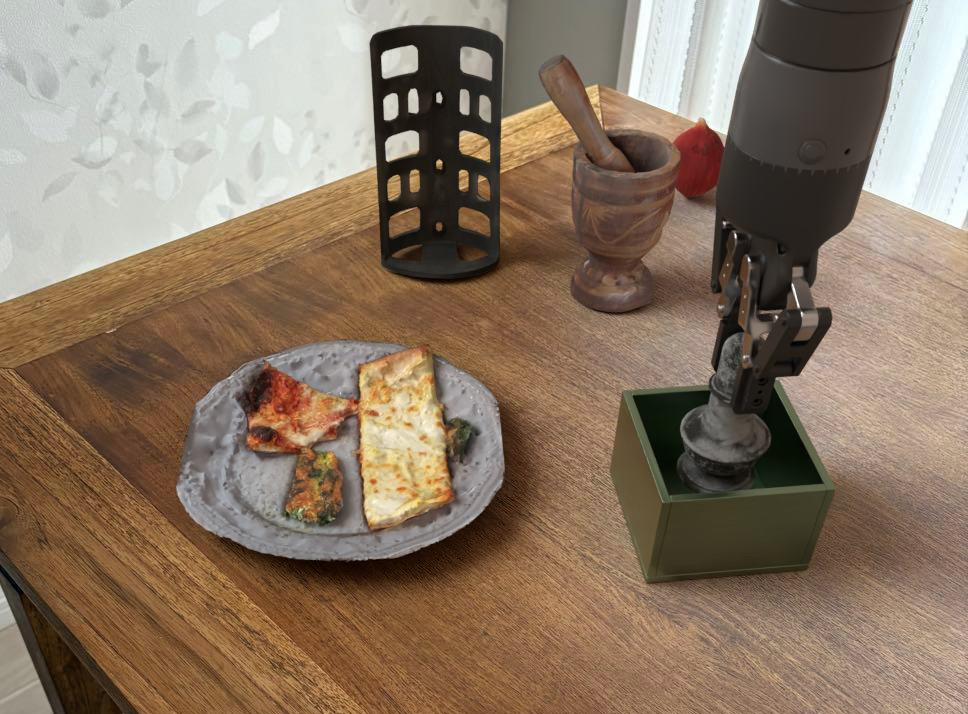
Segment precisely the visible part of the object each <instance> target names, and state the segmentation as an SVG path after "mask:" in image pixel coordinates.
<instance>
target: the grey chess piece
mask: <svg viewBox="0 0 968 714" xmlns="http://www.w3.org/2000/svg"><path fill="white" fill-rule="evenodd" d="M744 334H745V332H741V333H737V334H734V335H732V336H731V337H729V338H728V339H727V340H726V341H725V343H724V345H723V349H722V353H721V357H720V362H719V366H718V370H717V372H714V373H713V374H711V376H710V377H709V379H708V382H707V385H708V387H709V390H710V392H711V395H710V399H709V404H708V405H703V406H700V407H697V408H695V409H693V410H692V411H690V412H689V413H687V414H686V415H685V417H684V418H683V419H682V422H681V426H680V431H681V436H682V438H683V442H684V447H685V450H686V452H684V453H683V454H682V455H681V456H680V458H679V459H678V462H677V466H676V468H677V474H678V476H679V478H680V480H681V481H682V482H683V483H684V484H685V485H686V486H687V487H688V488H689V489H691V490H692V491H694V492H696V493H709V492H722V491H735V490H748V489H751V487H752V486H753V484H754V481H755V476H756V475H755V470H754V467H753V465H754V464H755V463H756V462H757V461H758V460H759V458H760V457H761V456H762V455H763V454H764V453H765V452H766V451H767V449H768V448H769V446H770V442H771V435H770V430H769V429H768V427H767V426H766V424H765V422H764V421H762V420H761V419H760V418H759V417H758V416H757V415H755V414H742V415H737V414H735V413H734V412H733V410H732V408H731V406H730V400H731V396H732V392H733V388H734V384H735V380H736V376H737V372H738V368H739V364H740V360H741V355H742V348H743V341H744ZM765 340H766V338H764V337H762V335H761V336H760V339H759V345H758V348H759V347H762V345H763V343H764V342H765Z"/></svg>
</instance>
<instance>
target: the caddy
mask: <svg viewBox="0 0 968 714" xmlns="http://www.w3.org/2000/svg"><path fill="white" fill-rule="evenodd" d="M710 395H711V392H710V390H709V387H708V384H699V385H698V384H697V385H685V386H684V385H683V386H670V387H668V386H667V387H654V388H642V389H641V388H639V389H638V388H637V389H631V390H630V389H627V390H626V389H625V390H622V391H621V395H620V403H619V409H618V416H617V421H616V422H617V423H616V428H615V435H614V441H613V446H612V453H611V454H612V455H611V459H610V466H609V473H610V477H611V480H612V484H613V486H614V489H615V492H616V495H617V499H618V502H619V505H620V508H621V510H622V514H623V517H624V520H625V523H626V526H627V529H628V533H629V536H630V539H631V541H632V546H633V548H634V551H635V554H636V557H637V561H638V563H639V566H640V567H639V568H640V570H641V572H642V576H643V579H644V583H646V584H651V583H664V582H675V581H685V580H686V581H687V580H688V581H689V580H700V579H713V578H724V577H725V578H726V577H735V576H748V575H749V576H750V575H762V574H775V573H786V572H797V571H798V572H800V571H807V570H808V568H809V565H810V563H811V560H812V557H813V555H814V553H815V549H816V546H817V543H818V540H819V538H820V535H821V532H822V530H823V527H824V524H825V522H826V518H827V516H828V513H829V512H830V511H829V510H830V507H831V505H832V503H833V500H834V498H835V494H836V491H837V487H836V486H835V484H834V482H833V480H832V478H831V477H830V474H829V473H828V471H827V468H826V467H825V464H824V463H823V461H822V459H821V457H820V455H819V454H818V452H817V450H816V448H815V446H814V444H813V442H812V440H811V438H810V436H809V434H808V432H807V430H806V428H805V427H804V425H803V423H802V420H801V419H800V417H799V415H798V413H797V411H796V409H795V407H794V406H793V403H792V401H791V399H790V398H789V396H788V394H787V392H786V390H785V388H784V386H783V385H782V382H781V380H780V379H775V383H774V387H773V390H772V394H771V397H770V401H769V404H768V408H767V409H766V410H765V411H764V412H762V413H756V414H755V415H757V416H758V417H759V418H760V419H761V420H762V421H764V422H765V424H766V426H767V427H768V429H769V430H770V435H771V442H770V446H769V448H768V449H767V451H766V452H765V453H764V454H763V455H762V456H761V457H760V458H759V460H758V461H757V462H756V463H755V464H754V465H753V467H754V470H755V475H756V476H755V481H754V484H753V486H752V487H751V489H748V490H735V491H722V492H709V493H696V492H694V491H692V490H691V489H689V488H688V487H687V486H686V485H685V484H684V483H683V482H682V481H681V480H680V478H679V476H678V474H677V468H676V466H677V462H678V459H679V458H680V456H681V455H682V454H683V453H684V452H686V450H685V447H684V442H683V438H682V436H681V431H680V426H681V422H682V419H683V418H684V417H685V415H686V414H687V413H689V412H690V411H692V410H693V409H695V408H697V407H700V406H703V405H708V404H709V399H710Z"/></svg>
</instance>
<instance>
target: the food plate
mask: <svg viewBox="0 0 968 714" xmlns="http://www.w3.org/2000/svg"><path fill="white" fill-rule="evenodd" d="M433 351H434V350H433V348H432V347H431V345H430V344H429V343H420V344H419V345H417V346H415V347H411V348H410V347H408V346H406V345H402V344H400V343H393V342H380V341H375V340H373V341H372V340H371V341H366V340H356V339H346V338H339V339H332V340H320V341H311V342H306V343H301V344H298V345H294V346H291V347H288V348H285V349H281V350H279V351H275V352H272V353H268V354H266V355H262V356H258V357H255V358H253V359H251V360H247V361H245V362H243V363H242V364H241V365H239V366H238V367H236V368H235V369H234V370H232V371H231V373H229V374H227V377H226V378H224V379H223V380H221V379H220V381H217V382H216V383H215V384H214V385H213V386H211V388H210V389H209V390H208V391H207V392H206V393H205V395H203V397H201V398H200V400H198V402H196V403H195V405H194V406H193V409H192V410H193V411H192V414H191V416H190V421H189V427H188V430H187V434H186V439H185V443H184V448H183V454H182V456H181V460H180V468H179V472H181V473H180V474H179V475H178V477H177V483H176V485H175V486H176V495H177V496H178V498H179V501H180V504H181V505H182V506H183V507H184V510H185V512H186V513H187V514H188V515H189V516H190V518H191V519H193V521H194V522H195V523H196V524H198V525H200V526H201V527H202V528H203V529H204V530H205V531H208V532H211V533H213V535H216V536H219V538H228V539H230V540H231V542H232V541H233V542H235V543H237V544H240V545H241V546H243V547H245V548H247V549H248V550H253V551H256V552H259V553H261V554H269V556H271V555H273V556H275V557H283V558H287V559H291V560H292V559H294V560H300V561H307V560H309V561H311V560H312V561H315V560H316V561H318V560H319V561H326V562H330V563H332V560H333V561H337V560H338V561H340V562H341V561H345V563H348V562H350V561H352V562H355V561H356V560H357V561H368V560H369V559H370V560H377V559H378V560H379V559H380V560H383V559H395V558H400V557H404V556H406V555H409V554H412V553H414V552H417V551H420V550H421V548H426V547H429V546H430V545H431V544H433V545H435V544H436V542H437V543H439V541H443V540H444V539H446V538H447V537H450V536H452V535H454V534H455V533H456V532H459V531H460V530H461V529H463V528H465V527H466V525H469V524H471V523H472V522H473V521H474V520H475V519H476V518H477V517H478V516H480V514H482V513H483V511H486V507H487V506H489V505H490V503H491V502H492V501H493V499H494V497H495V495H496V494H497V492H498V491H499V490H500V489H501V488H502V486H503V484H504V483H505V482H506V479H505V477H506V476H505V472H506V468H505V465H504V463H505V455H504V445H503V432H502V425H501V421H500V418H501V415H500V413H499V412H500V408H499V400H497V398H496V397H495V394H494V393H493V392H492V390H491V389H489V387H488V386H487V385H486V384H485V383H483V382H482V381H481V380H479V379H478V378H477V377H475V376H474V375H473V374H471V373H470V372H467V371H465V370H464V369H461V368H459V367H457V366H456V365H455V364H454V363H451V362H450V361H449V360H447V358H446V357H445V356H443V355H437V354H436V353H433Z"/></svg>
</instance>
